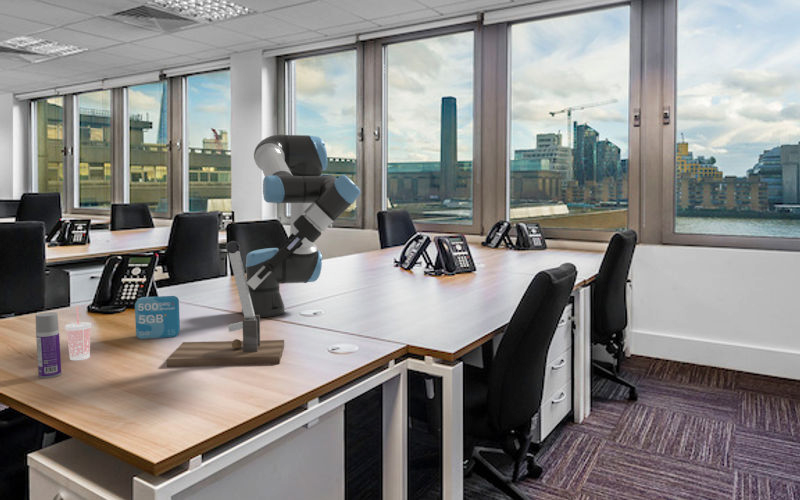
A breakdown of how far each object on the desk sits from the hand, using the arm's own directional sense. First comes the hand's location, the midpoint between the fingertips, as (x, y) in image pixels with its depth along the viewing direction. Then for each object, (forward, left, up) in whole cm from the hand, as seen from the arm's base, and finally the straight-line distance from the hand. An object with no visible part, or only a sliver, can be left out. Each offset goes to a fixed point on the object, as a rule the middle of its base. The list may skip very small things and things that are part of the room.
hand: (250, 285), depth 151 cm
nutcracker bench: (0, -6, -19) cm, 20 cm away
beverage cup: (-2, -45, -20) cm, 49 cm away
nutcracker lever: (0, -2, -12) cm, 12 cm away
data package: (-23, -31, -20) cm, 44 cm away
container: (+12, -46, -20) cm, 51 cm away
